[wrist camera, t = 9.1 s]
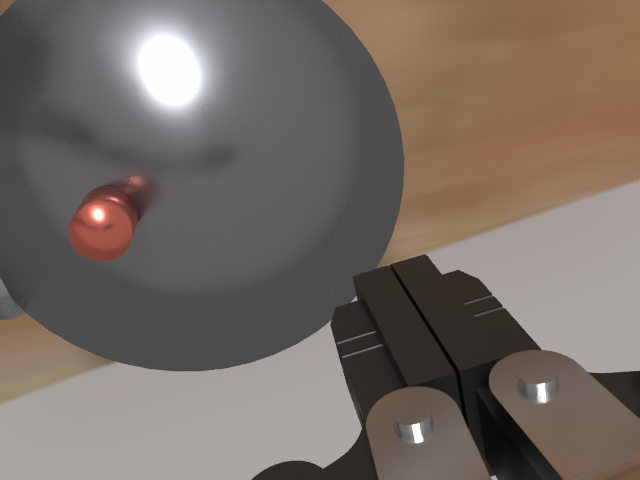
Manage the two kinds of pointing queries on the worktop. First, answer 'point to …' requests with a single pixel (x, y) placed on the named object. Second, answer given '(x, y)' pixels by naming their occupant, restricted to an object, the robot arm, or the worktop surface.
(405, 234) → the worktop surface
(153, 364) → the lid
